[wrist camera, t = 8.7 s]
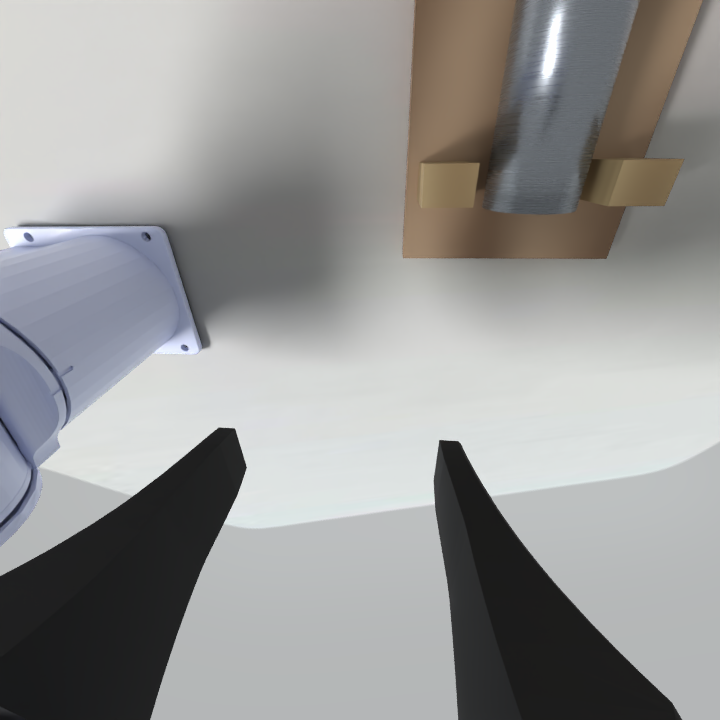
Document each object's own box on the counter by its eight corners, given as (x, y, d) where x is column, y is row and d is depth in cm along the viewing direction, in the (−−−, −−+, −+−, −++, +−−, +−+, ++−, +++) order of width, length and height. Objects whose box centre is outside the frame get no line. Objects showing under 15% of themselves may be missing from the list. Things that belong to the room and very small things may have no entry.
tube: (473, 203, 15) (495, 215, 12) (545, -275, 9) (625, -491, 6) (553, 201, 15) (595, 214, 12) (683, -290, 9) (839, -522, 6)
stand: (402, 253, 18) (404, 276, 15) (433, -387, 9) (459, -719, 6) (595, 253, 17) (646, 277, 14) (844, -449, 8) (1167, -880, 5)
